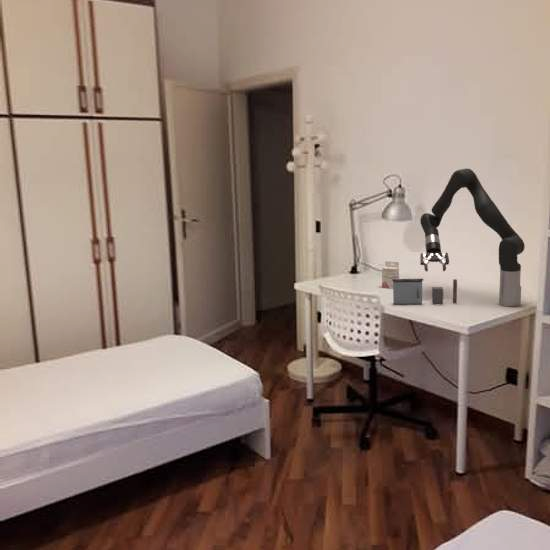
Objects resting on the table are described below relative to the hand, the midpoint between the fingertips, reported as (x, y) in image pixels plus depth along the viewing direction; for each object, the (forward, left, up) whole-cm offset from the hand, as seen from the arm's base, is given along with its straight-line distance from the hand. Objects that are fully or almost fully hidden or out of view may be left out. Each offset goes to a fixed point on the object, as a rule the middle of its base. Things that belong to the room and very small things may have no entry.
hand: (435, 270), depth 295 cm
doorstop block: (0, +8, -15) cm, 17 cm away
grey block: (+15, +10, -15) cm, 23 cm away
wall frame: (+7, +8, -15) cm, 19 cm away
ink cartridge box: (+21, -29, -15) cm, 39 cm away
